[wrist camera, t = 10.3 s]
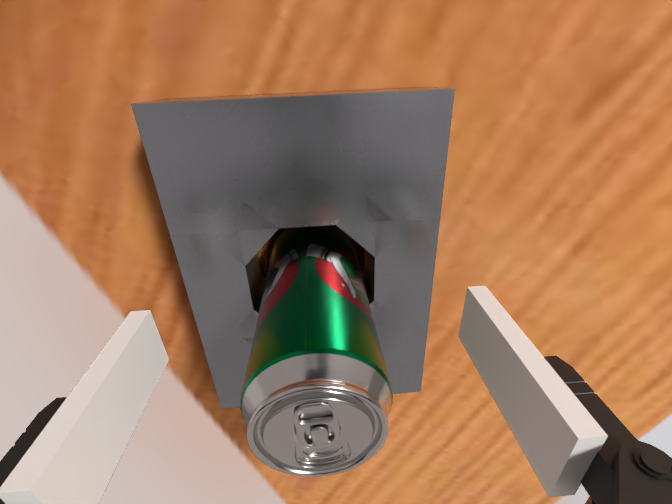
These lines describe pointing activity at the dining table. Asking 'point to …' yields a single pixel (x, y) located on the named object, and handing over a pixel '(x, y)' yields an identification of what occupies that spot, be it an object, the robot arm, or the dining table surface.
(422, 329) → the plate
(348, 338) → the soda can
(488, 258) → the dining table surface
